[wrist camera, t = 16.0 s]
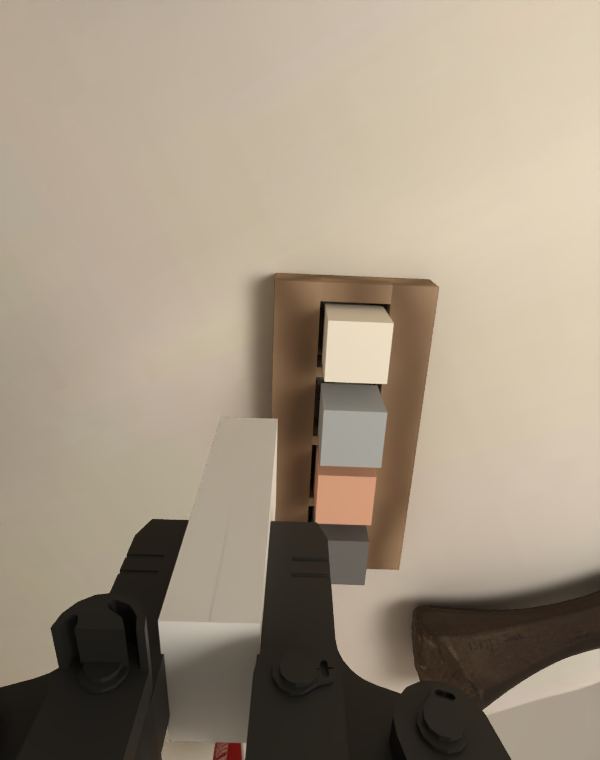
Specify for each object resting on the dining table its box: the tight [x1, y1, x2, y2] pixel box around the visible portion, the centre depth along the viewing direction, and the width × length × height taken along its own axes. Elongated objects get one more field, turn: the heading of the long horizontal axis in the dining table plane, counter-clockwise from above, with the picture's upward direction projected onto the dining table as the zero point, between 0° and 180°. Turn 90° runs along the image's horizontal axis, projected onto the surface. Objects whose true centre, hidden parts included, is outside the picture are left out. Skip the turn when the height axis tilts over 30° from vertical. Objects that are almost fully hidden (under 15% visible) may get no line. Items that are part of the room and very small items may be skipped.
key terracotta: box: [314, 445, 376, 525], centre depth 42 cm, size 4×4×5 cm
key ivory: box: [322, 304, 394, 384], centre depth 37 cm, size 4×4×5 cm
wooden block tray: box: [271, 273, 439, 570], centre depth 44 cm, size 12×26×3 cm, turn 178°
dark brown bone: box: [412, 591, 600, 710], centre depth 49 cm, size 11×10×28 cm
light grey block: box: [318, 383, 387, 468], centre depth 39 cm, size 4×4×5 cm
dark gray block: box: [312, 506, 369, 585], centre depth 44 cm, size 4×4×5 cm
